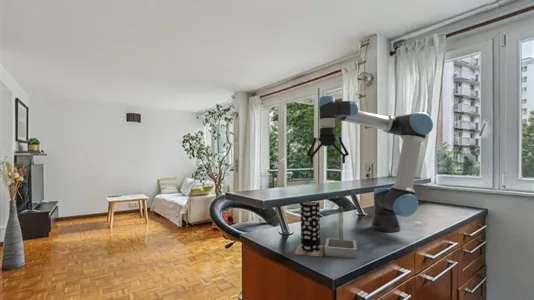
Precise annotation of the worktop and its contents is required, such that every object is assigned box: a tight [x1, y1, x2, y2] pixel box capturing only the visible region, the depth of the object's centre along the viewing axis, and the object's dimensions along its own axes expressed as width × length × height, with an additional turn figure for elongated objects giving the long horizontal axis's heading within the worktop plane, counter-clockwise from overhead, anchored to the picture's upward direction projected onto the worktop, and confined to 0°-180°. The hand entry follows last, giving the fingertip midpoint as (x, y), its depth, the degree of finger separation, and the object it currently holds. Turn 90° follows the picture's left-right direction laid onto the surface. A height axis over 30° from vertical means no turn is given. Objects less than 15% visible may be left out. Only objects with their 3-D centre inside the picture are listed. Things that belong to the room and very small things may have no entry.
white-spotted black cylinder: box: [300, 201, 321, 252], centre depth 122 cm, size 8×8×20 cm
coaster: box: [294, 243, 325, 258], centre depth 122 cm, size 12×12×1 cm
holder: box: [324, 206, 358, 259], centre depth 122 cm, size 13×16×18 cm
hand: (327, 170), depth 138 cm, fingers open, 13 cm apart
